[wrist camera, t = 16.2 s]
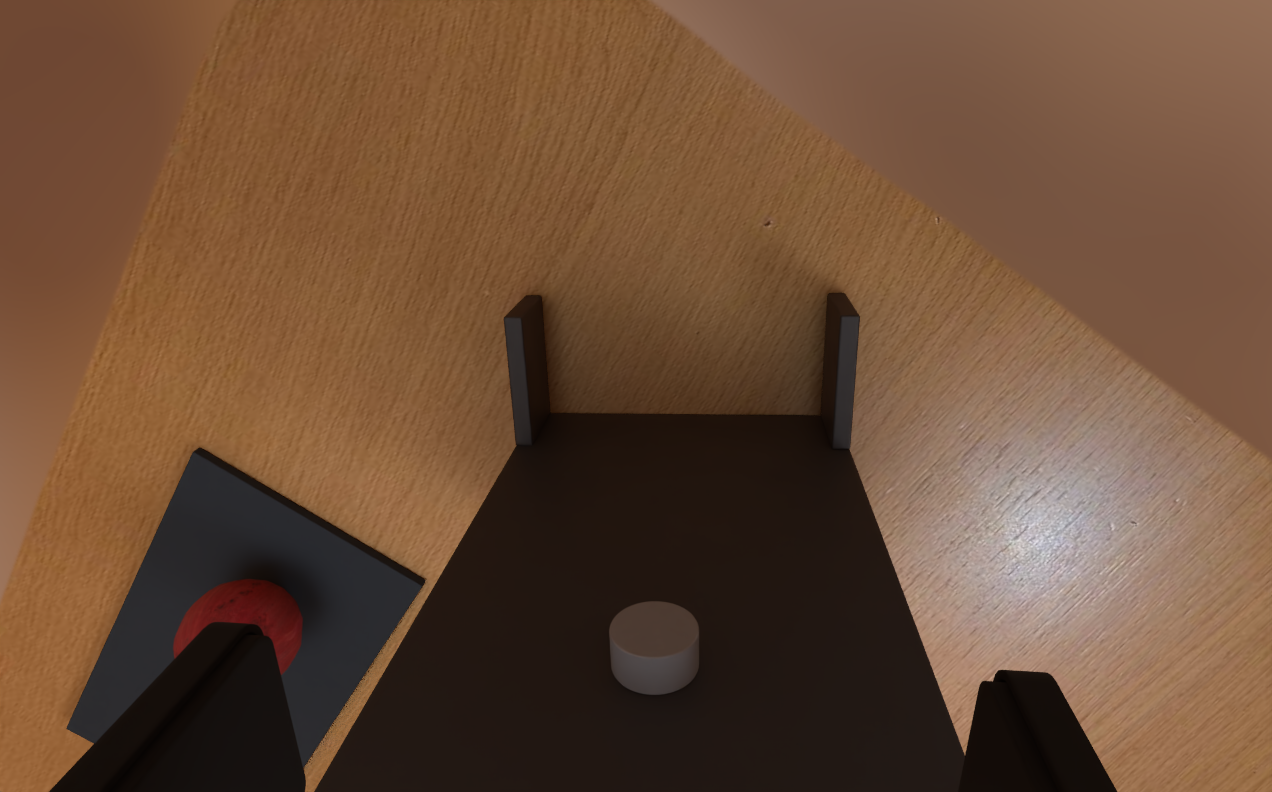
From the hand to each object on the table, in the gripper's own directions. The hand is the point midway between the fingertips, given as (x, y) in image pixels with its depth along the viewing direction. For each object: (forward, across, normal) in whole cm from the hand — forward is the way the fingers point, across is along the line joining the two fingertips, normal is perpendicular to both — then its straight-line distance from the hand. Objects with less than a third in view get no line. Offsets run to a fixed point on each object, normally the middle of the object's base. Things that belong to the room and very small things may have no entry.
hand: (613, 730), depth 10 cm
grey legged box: (+27, 0, +8) cm, 28 cm away
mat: (+26, +27, +24) cm, 45 cm away
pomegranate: (+26, +23, +19) cm, 39 cm away
